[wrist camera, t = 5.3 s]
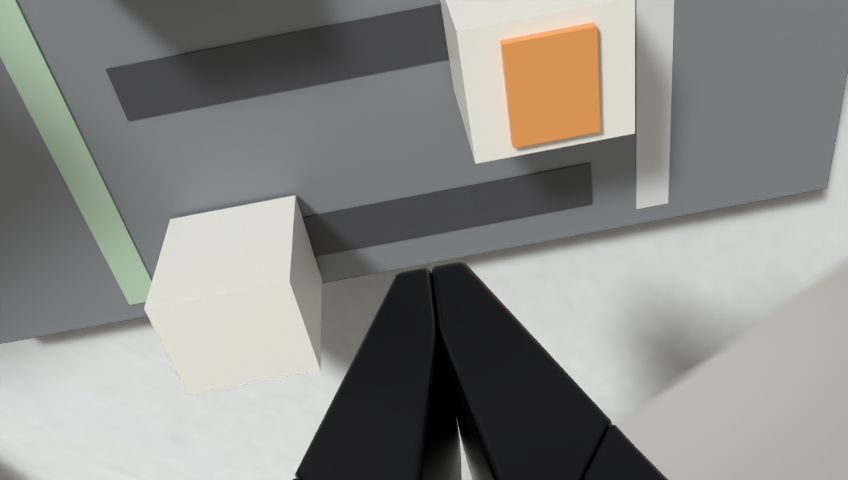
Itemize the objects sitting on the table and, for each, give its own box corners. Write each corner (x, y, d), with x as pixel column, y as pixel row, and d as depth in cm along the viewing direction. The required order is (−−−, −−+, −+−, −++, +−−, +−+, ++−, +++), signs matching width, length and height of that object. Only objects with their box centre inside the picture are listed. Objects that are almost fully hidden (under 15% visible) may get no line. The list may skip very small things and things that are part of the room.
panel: (891, -418, 14) (936, -426, 13) (804, 163, 21) (828, 189, 20) (-325, -171, 14) (-375, -159, 13) (-2, 316, 21) (-19, 348, 20)
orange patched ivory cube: (584, -58, 16) (638, 0, 13) (589, 63, 17) (638, 138, 14) (435, -29, 16) (458, 36, 13) (453, 89, 17) (476, 169, 14)
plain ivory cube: (295, 195, 18) (289, 281, 16) (321, 279, 20) (320, 370, 17) (170, 219, 18) (144, 308, 16) (206, 301, 20) (188, 395, 17)
